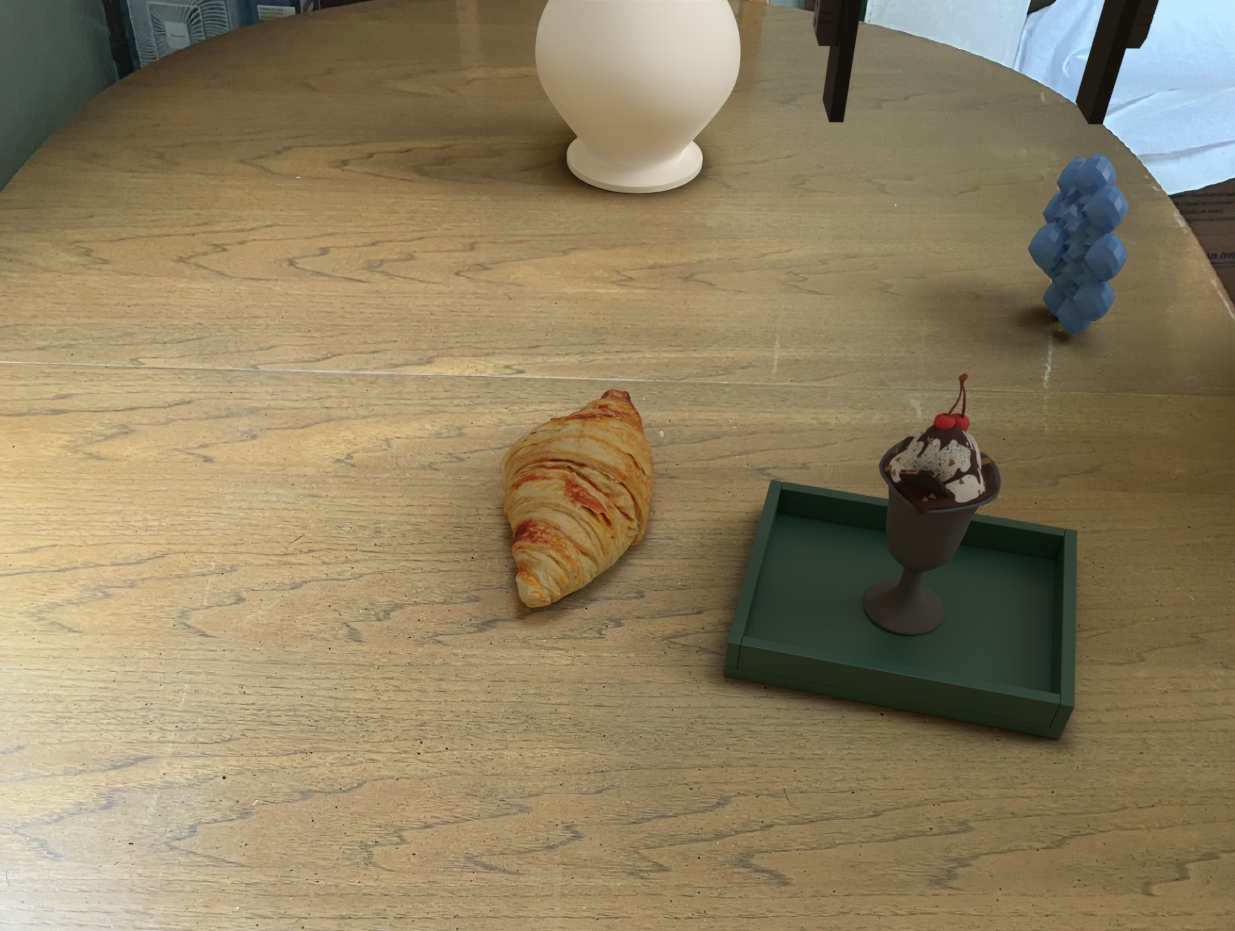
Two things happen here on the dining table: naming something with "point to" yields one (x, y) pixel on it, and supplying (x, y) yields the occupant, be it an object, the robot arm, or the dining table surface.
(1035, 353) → the dining table surface
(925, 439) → the sundae
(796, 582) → the tray
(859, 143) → the dining table surface
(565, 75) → the decorative vase
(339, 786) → the dining table surface
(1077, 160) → the grapes
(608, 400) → the croissant
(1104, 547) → the dining table surface
